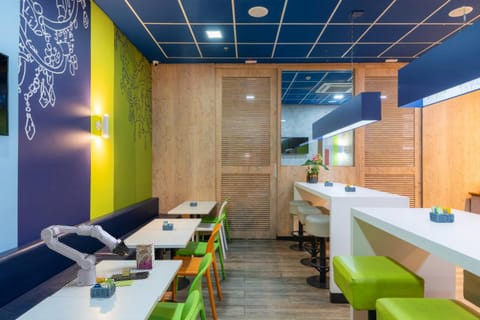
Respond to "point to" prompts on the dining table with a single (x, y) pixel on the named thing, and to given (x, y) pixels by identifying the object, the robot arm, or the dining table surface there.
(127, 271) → the brass nut block
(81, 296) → the dining table surface
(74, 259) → the robot arm
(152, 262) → the candy bar box
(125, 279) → the graphite rail
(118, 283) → the green rubber pad
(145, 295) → the dining table surface
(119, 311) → the dining table surface
